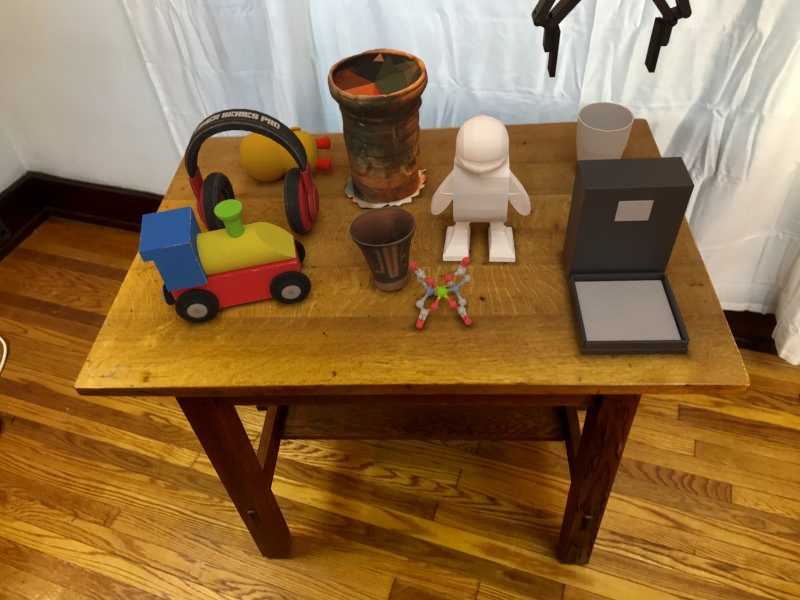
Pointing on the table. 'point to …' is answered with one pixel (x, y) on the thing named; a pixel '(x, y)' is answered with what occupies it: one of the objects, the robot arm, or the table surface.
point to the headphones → (217, 186)
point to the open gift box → (626, 254)
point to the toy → (280, 155)
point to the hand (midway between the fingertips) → (599, 70)
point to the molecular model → (442, 291)
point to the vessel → (381, 124)
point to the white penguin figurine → (481, 190)
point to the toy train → (221, 261)
